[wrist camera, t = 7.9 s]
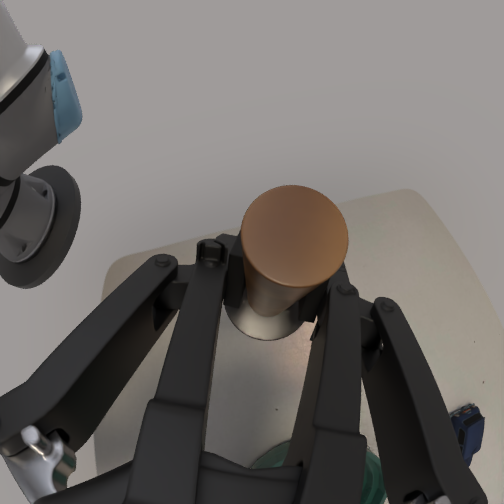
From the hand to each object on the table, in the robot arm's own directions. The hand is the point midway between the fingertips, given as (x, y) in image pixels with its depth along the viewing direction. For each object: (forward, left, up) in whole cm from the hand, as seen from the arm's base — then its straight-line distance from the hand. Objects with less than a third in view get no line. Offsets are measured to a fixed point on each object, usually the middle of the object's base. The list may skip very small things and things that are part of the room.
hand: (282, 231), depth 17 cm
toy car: (+33, -20, -15) cm, 41 cm away
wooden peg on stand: (0, -4, -5) cm, 6 cm away
